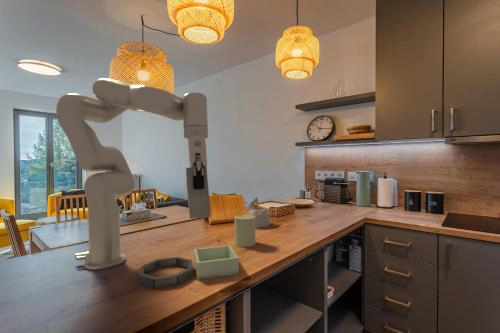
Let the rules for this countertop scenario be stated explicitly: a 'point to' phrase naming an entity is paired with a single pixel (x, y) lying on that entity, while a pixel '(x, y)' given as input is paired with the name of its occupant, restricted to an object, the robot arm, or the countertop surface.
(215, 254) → the bin
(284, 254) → the countertop surface
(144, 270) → the socket ring
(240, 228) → the can
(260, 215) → the lumpy-topped squat cylinder
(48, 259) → the countertop surface
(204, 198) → the skincare box
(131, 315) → the countertop surface
